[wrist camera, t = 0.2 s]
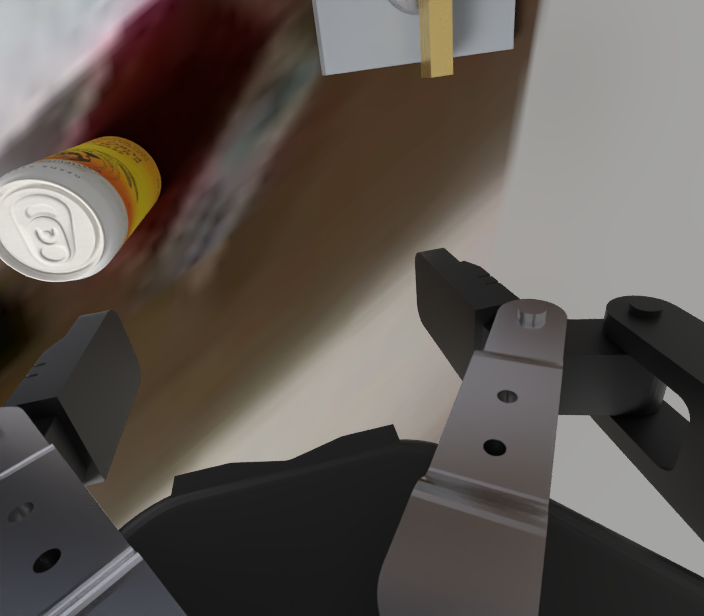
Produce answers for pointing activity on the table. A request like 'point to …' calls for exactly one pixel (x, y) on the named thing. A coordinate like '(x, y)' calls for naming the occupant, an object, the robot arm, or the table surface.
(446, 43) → the valve handle
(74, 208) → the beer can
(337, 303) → the table surface
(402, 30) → the stand
